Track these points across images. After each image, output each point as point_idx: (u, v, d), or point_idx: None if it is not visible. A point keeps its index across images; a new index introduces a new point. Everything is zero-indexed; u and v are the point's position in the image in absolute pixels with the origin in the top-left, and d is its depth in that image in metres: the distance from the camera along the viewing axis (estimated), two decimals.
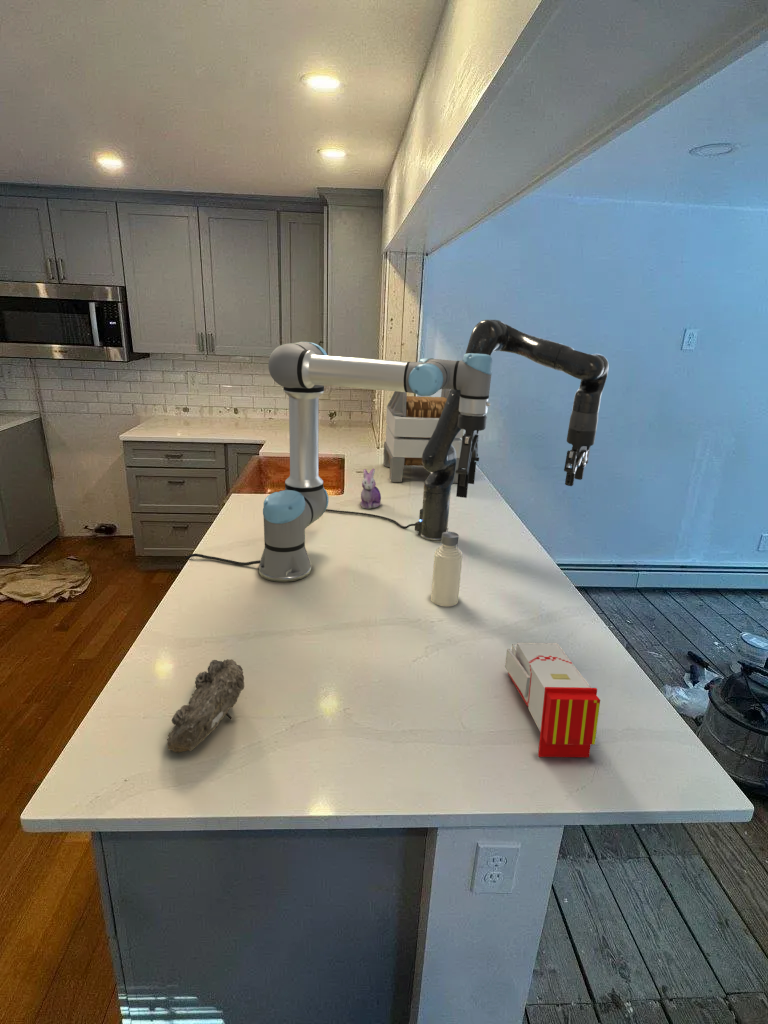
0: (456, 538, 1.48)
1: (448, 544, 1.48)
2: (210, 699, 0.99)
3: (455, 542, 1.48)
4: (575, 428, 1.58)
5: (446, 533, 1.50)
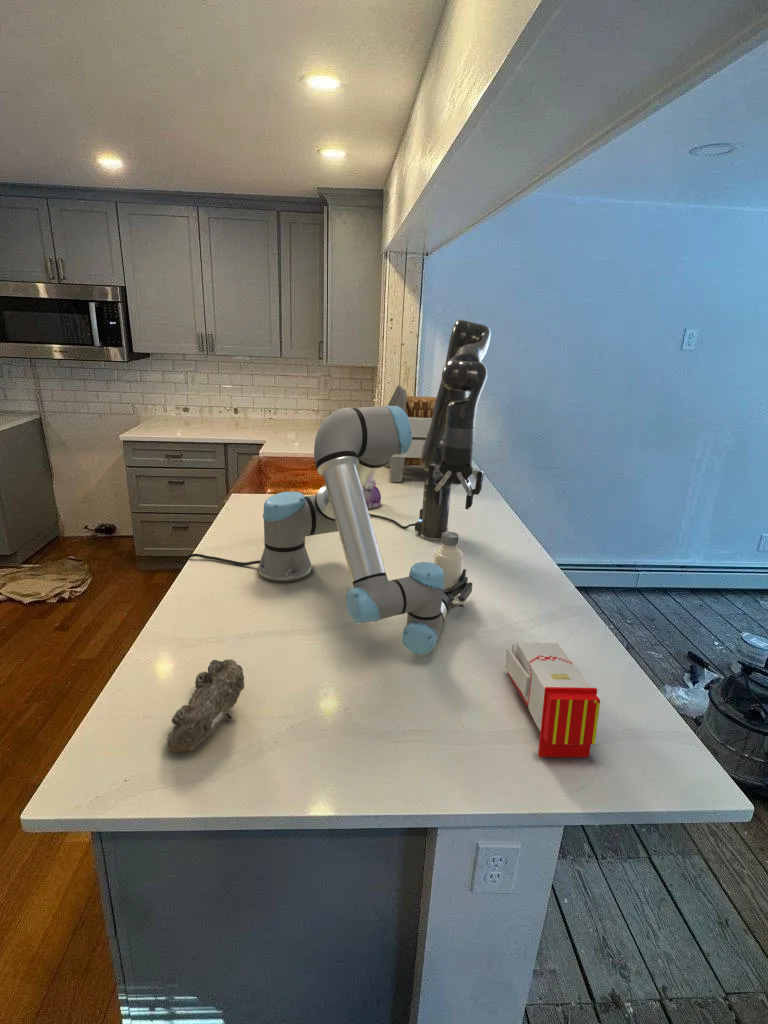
0: (456, 538, 1.48)
1: (448, 544, 1.48)
2: (210, 699, 0.99)
3: (455, 542, 1.48)
4: None
5: (446, 533, 1.50)
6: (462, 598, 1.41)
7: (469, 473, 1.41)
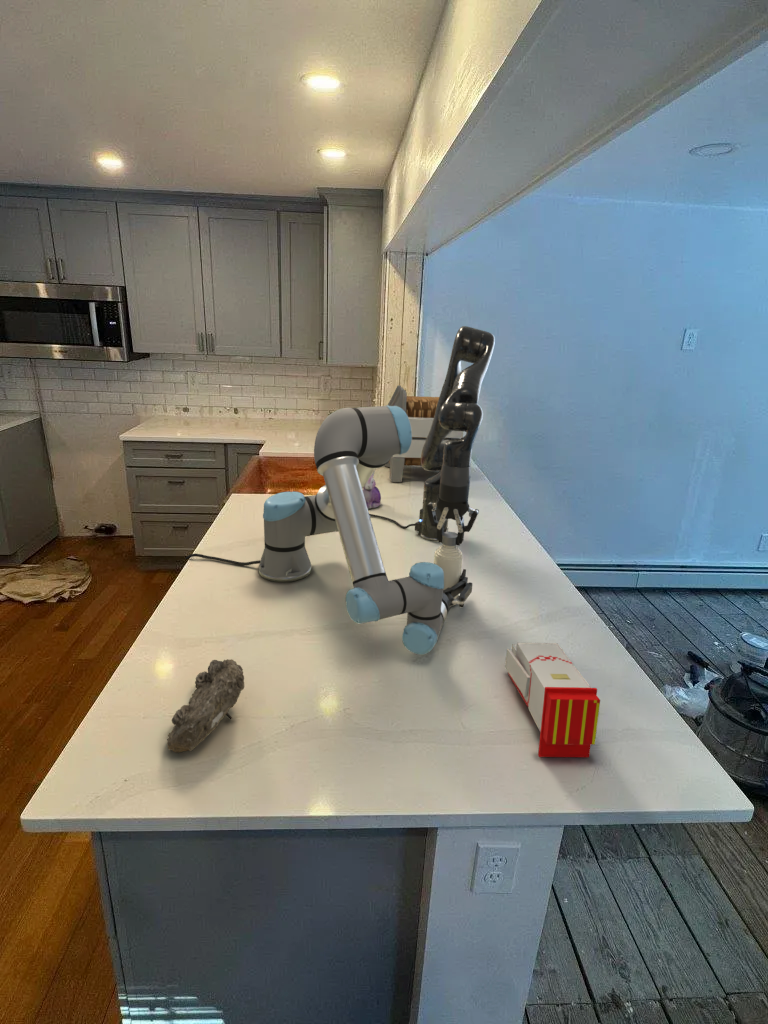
0: (456, 538, 1.48)
1: (448, 544, 1.48)
2: (210, 699, 0.99)
3: (455, 542, 1.48)
4: None
5: (446, 533, 1.50)
6: (462, 598, 1.41)
7: (465, 510, 1.45)
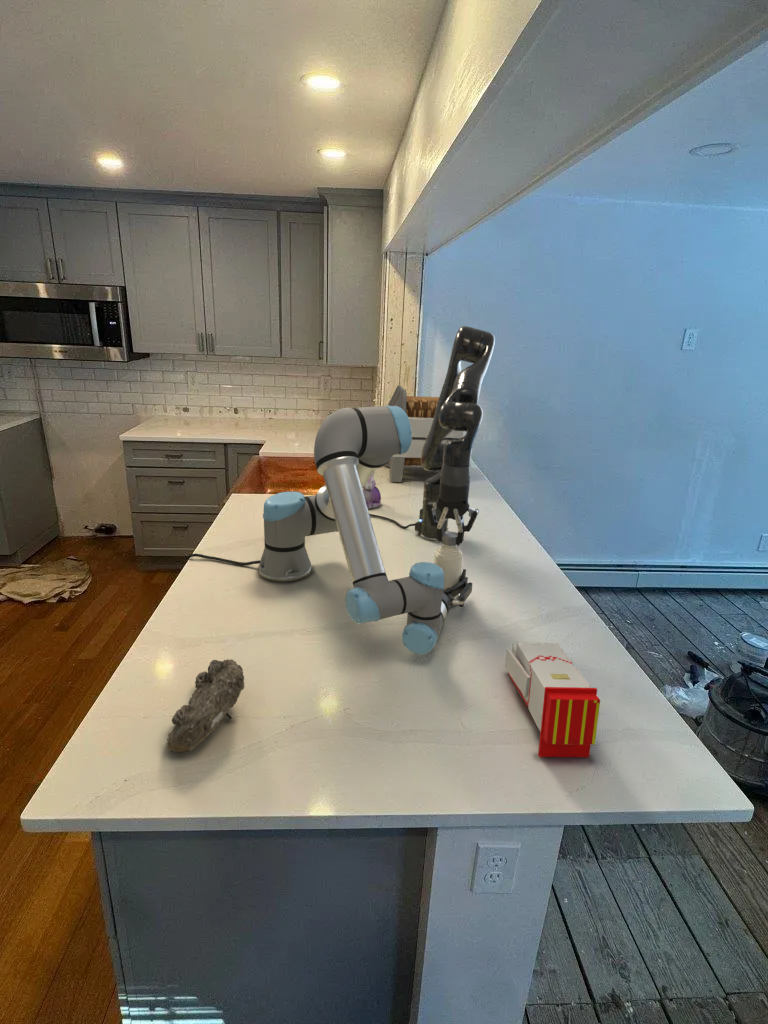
0: None
1: None
2: (210, 699, 0.99)
3: None
4: None
5: (448, 535, 1.48)
6: (462, 598, 1.41)
7: (465, 510, 1.45)
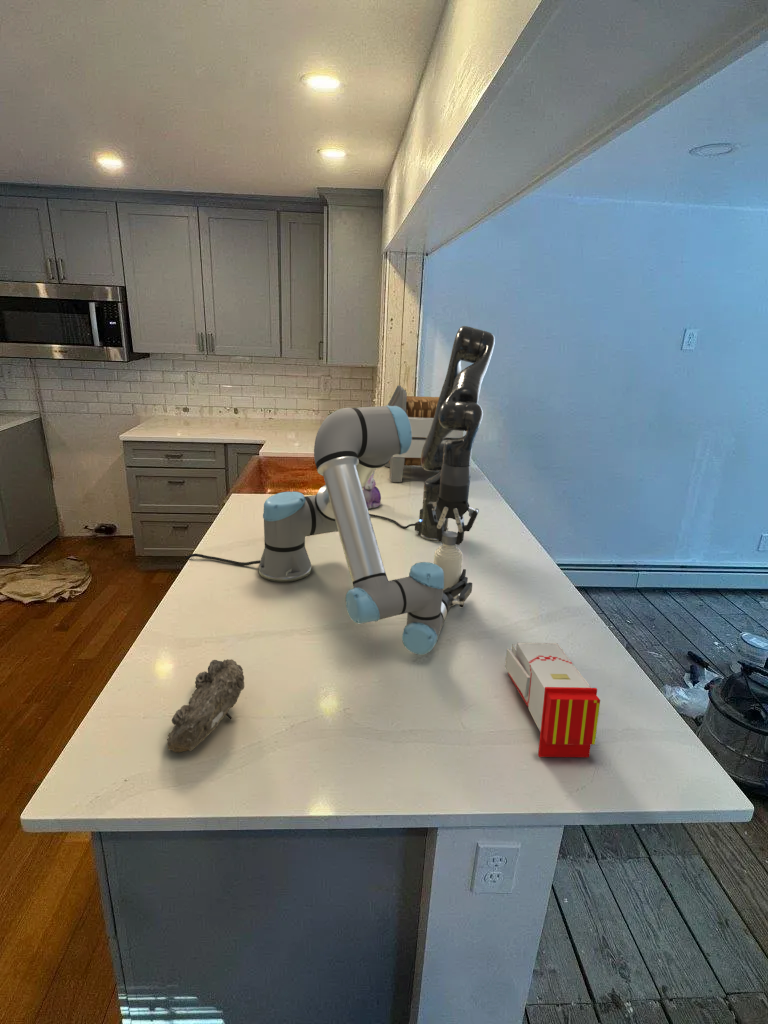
0: None
1: None
2: (210, 699, 0.99)
3: None
4: None
5: (454, 534, 1.49)
6: (462, 598, 1.41)
7: (465, 509, 1.45)
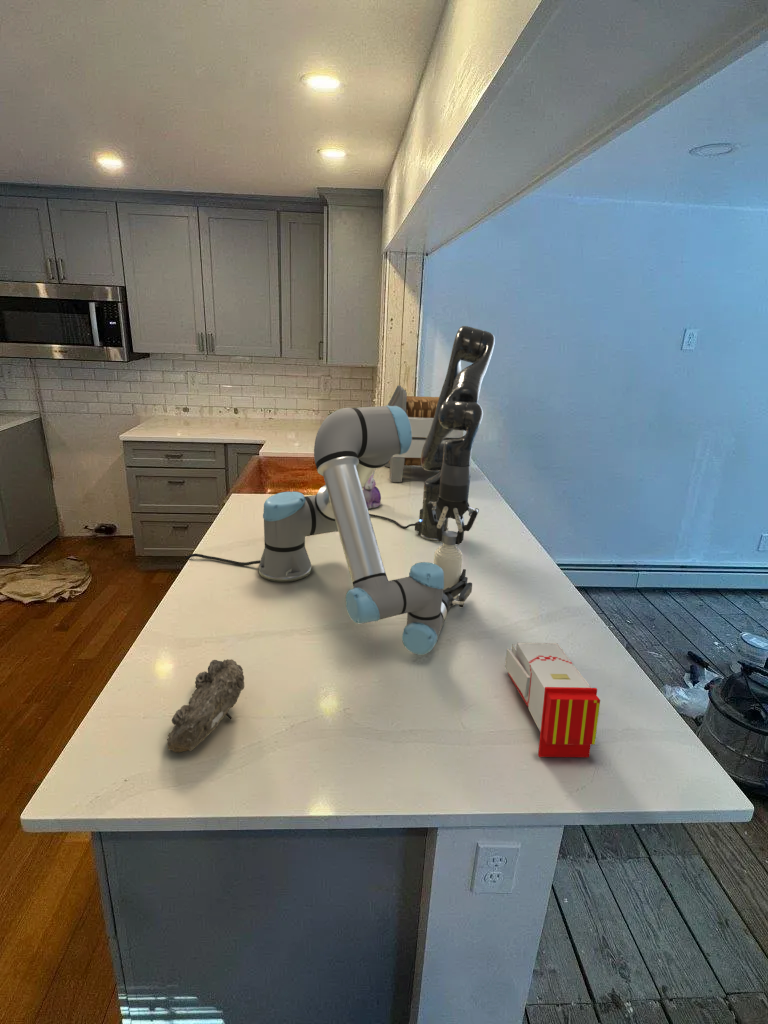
0: (446, 537, 1.48)
1: (441, 540, 1.50)
2: (210, 699, 0.99)
3: (445, 541, 1.48)
4: None
5: (451, 532, 1.50)
6: (462, 598, 1.41)
7: (465, 509, 1.44)
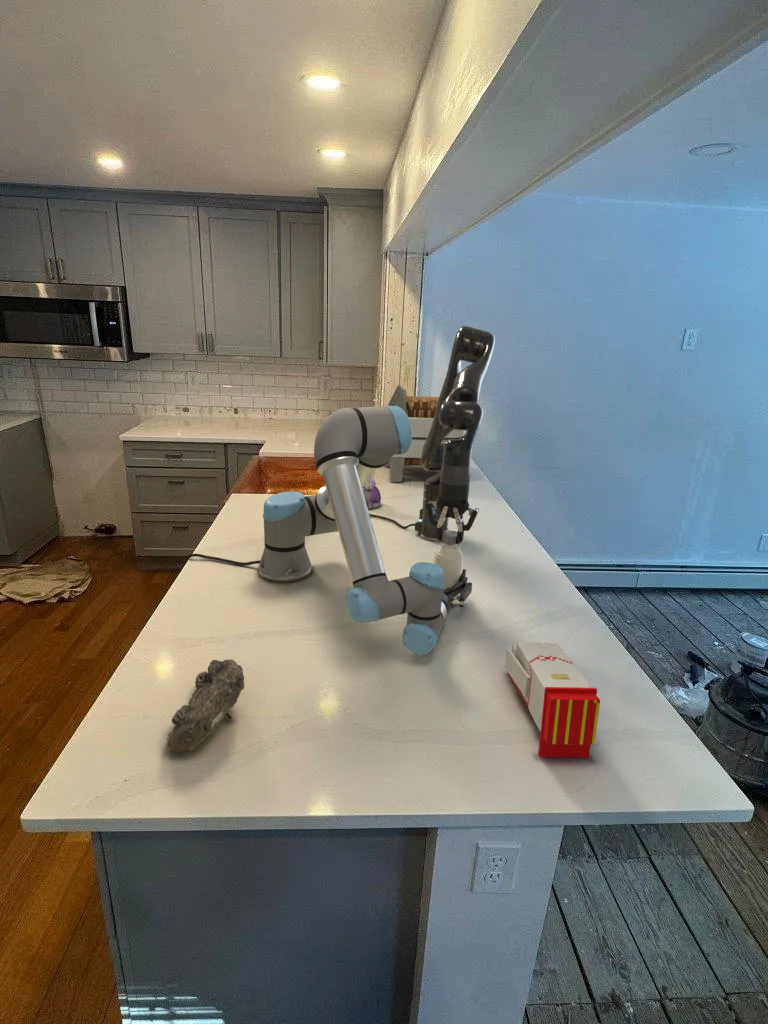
0: None
1: (451, 543, 1.48)
2: (210, 699, 0.99)
3: None
4: None
5: (445, 532, 1.49)
6: (462, 598, 1.41)
7: (465, 509, 1.44)
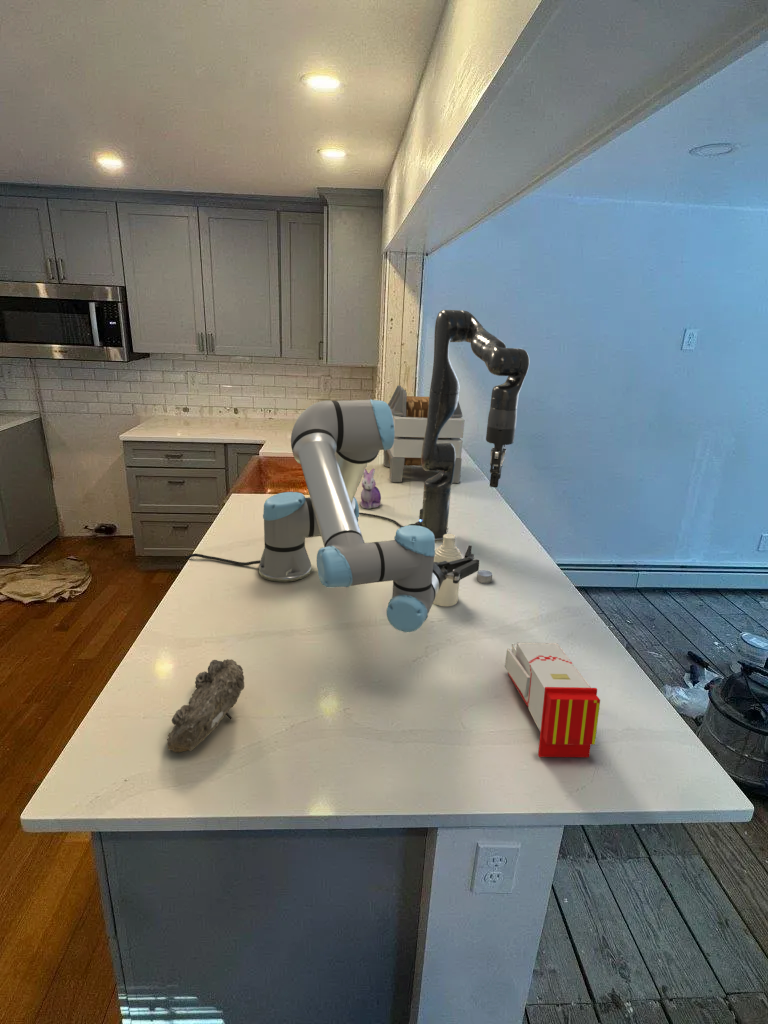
0: None
1: None
2: (210, 699, 0.99)
3: None
4: (497, 426, 1.49)
5: (484, 574, 1.66)
6: (456, 573, 1.23)
7: None
